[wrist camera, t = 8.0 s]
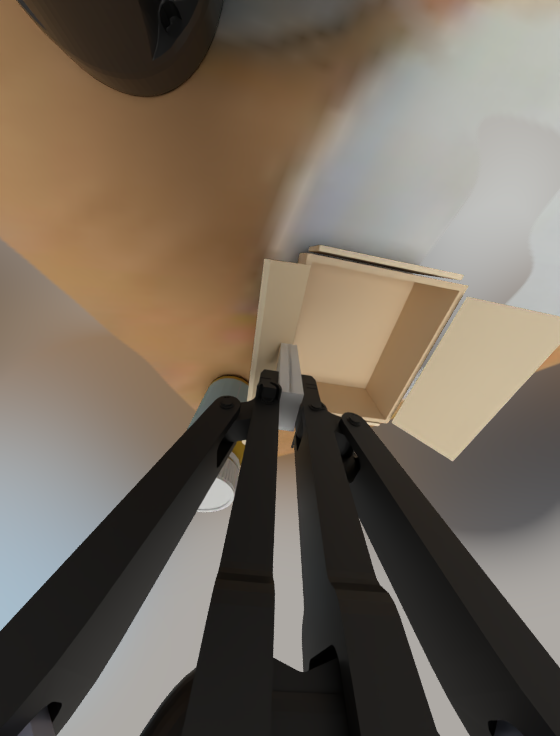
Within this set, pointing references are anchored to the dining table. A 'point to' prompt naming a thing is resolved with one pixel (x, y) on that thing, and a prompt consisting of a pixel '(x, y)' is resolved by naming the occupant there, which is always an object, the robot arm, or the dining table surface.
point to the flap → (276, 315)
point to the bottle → (228, 476)
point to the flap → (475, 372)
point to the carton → (369, 328)
